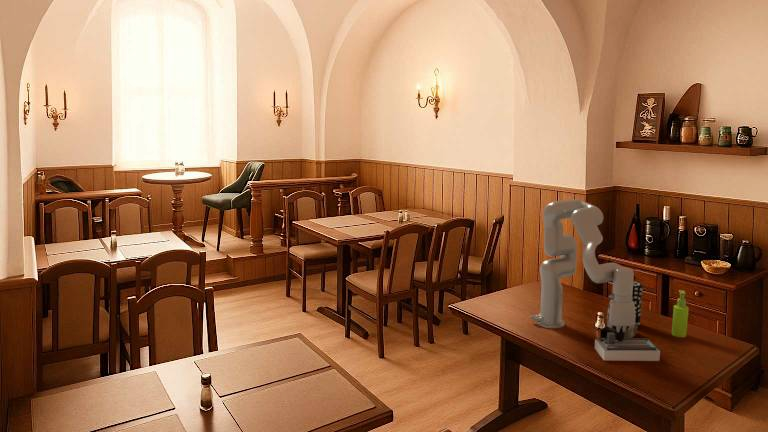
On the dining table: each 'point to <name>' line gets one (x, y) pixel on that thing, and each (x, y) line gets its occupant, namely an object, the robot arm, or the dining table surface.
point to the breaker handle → (610, 338)
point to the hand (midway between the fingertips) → (619, 340)
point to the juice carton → (627, 334)
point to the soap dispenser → (680, 317)
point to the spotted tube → (637, 300)
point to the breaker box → (627, 350)
